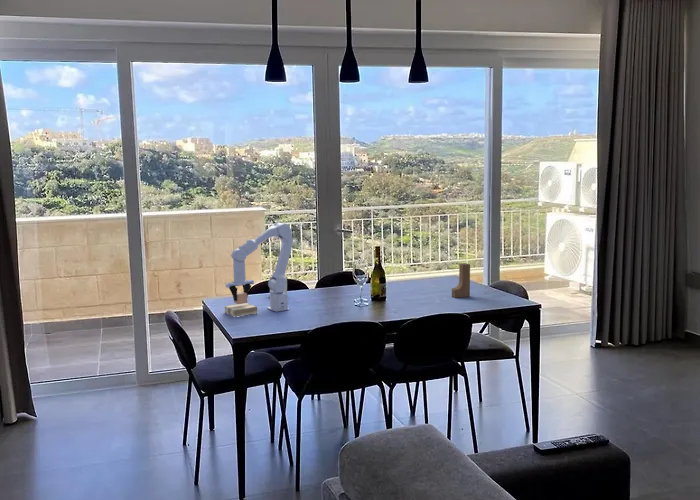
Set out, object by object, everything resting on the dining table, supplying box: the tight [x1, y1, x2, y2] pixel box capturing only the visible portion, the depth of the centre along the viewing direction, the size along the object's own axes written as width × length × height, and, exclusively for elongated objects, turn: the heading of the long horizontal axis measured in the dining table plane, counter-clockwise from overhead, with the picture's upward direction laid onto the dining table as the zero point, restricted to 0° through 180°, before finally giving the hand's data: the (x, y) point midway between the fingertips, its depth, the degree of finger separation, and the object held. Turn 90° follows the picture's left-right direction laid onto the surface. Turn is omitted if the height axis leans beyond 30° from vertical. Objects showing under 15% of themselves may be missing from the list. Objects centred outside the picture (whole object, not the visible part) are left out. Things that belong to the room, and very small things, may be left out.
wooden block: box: [451, 262, 471, 299], centre depth 366 cm, size 9×4×18 cm, turn 108°
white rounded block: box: [269, 276, 288, 296], centre depth 376 cm, size 8×6×10 cm
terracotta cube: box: [233, 290, 248, 304], centre depth 336 cm, size 5×5×5 cm
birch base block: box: [224, 302, 258, 318], centre depth 337 cm, size 12×12×4 cm
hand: (240, 299), depth 336 cm, fingers closed on terracotta cube, 5 cm apart
